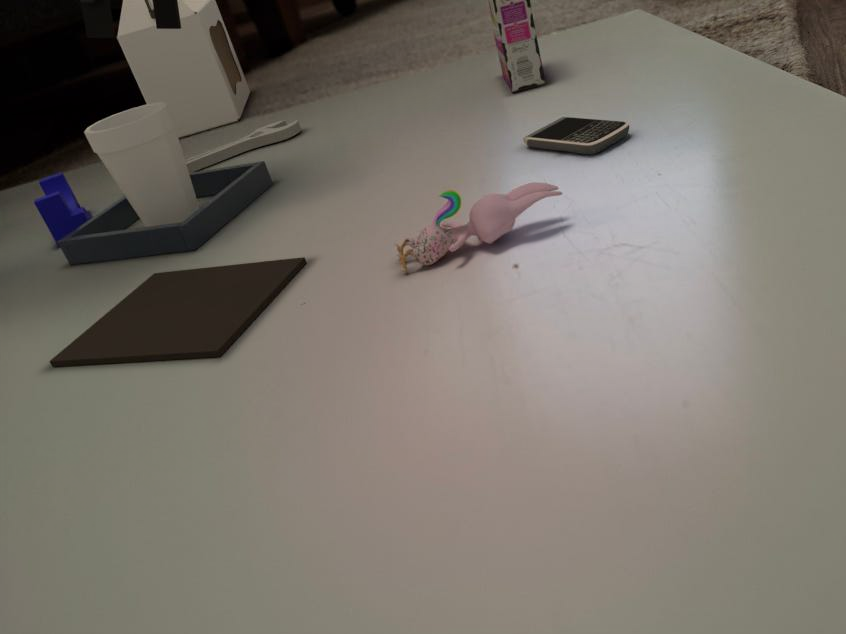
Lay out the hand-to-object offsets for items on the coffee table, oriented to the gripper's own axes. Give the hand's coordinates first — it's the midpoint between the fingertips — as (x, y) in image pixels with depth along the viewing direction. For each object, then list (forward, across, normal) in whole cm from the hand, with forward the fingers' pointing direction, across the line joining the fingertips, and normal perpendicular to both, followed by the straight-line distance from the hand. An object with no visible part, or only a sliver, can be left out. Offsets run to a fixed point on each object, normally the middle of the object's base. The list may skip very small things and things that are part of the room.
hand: (137, 33), depth 92 cm
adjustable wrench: (+19, +23, +4) cm, 30 cm away
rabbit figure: (+16, -21, -42) cm, 50 cm away
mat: (+22, -25, -15) cm, 37 cm away
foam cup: (+21, 0, -1) cm, 21 cm away
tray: (+21, 0, -1) cm, 21 cm away
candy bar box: (+8, +31, -39) cm, 50 cm away
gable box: (+18, +52, +20) cm, 59 cm away
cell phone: (+11, +1, -48) cm, 50 cm away
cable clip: (+24, +5, +16) cm, 30 cm away
